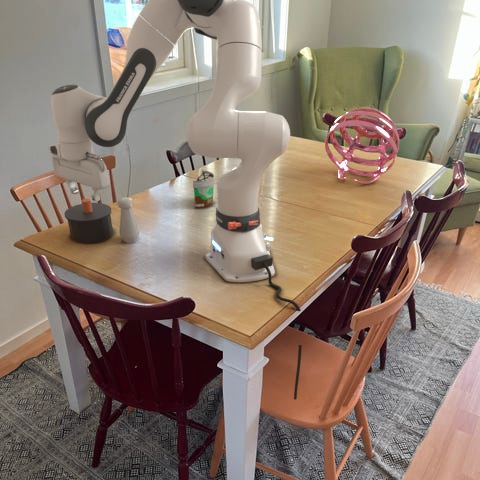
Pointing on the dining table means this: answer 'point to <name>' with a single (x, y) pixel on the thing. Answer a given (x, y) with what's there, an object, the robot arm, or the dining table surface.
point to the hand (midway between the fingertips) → (85, 196)
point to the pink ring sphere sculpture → (355, 144)
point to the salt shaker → (127, 221)
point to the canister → (91, 230)
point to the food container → (204, 190)
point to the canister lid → (88, 212)
